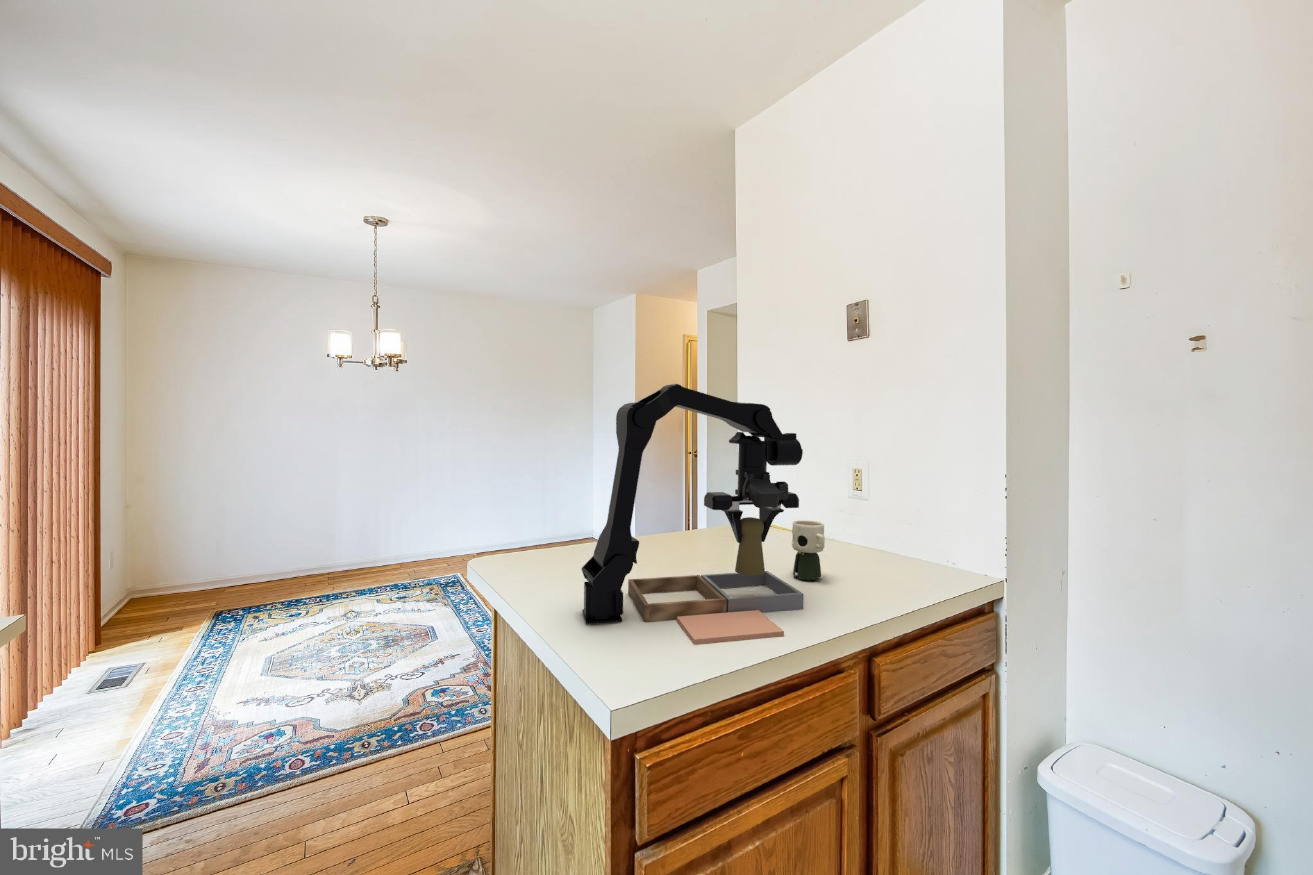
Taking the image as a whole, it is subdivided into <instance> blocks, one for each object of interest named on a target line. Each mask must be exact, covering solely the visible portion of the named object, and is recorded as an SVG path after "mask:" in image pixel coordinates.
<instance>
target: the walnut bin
mask: <svg viewBox="0 0 1313 875" xmlns="http://www.w3.org/2000/svg"><path fill="white" fill-rule="evenodd" d="M627 581H628V582H627V583H628V584H627V585H628V587H627V588H628V589H627V590H628V591H627V594H628V597H630V599H631V601H632V603H633V604H635V605H634V606H635V608H636V610H637V611H638V613H639V615H640V617H641V619H642V621H643V622H644V623H650V622H651V623H652V622H662V621H663V622H664V621H672V620H673V621H674V620H675V621H677V617H679V616H691V615H703V614H716V613H726V599H725V598H724V597H723V596H722V595H721V594H720V593H719V592H718V591H717V590H715V589H714V588H713V587H712V586H711V585H710V584H709V583H708V582H707V581H705V580H704V579H703V578H702V577H701V574H696V575H695V574H692V575H691V574H690V575H679V576H678V575H677V576H663V577H661V576H660V577H659V576H658V577H647V578H646V577H643V578H628V580H627ZM691 590H692V591H697V592H698V593H699V594H700V596H702V597H703V598H704V599H697V600H696V599H695V600H682V601H667V602H655V603H654V602H653V603H649V602H648V601H647V600H646V598H645V596H644V595H645V594H646V595H647V594H659V593H661V594H662V593H673V592H678V593H679V592H689V591H691ZM692 591H691V592H692Z"/></svg>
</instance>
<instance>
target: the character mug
mask: <svg viewBox="0 0 1313 875" xmlns="http://www.w3.org/2000/svg"><path fill="white" fill-rule="evenodd" d="M791 533H792V540H791V546H792V549H793V550H794V551H796V554H795V558H794V563H793V571H792V574H793V577H796V578H797V579H800V580H809V581H813V580H816V579H819V578H821V577H822V569H821V568H822V567H821V562H820V561H821V560H820V555H819V553H821V552H824V549H825V540H826V539H825V524H824V523H823V522H821V521H817V520H816V521H815V520H803V519H801V520H800V519H798V520H793V521H792V529H791ZM796 574H797V576H796Z"/></svg>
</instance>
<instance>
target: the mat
mask: <svg viewBox="0 0 1313 875" xmlns="http://www.w3.org/2000/svg"><path fill="white" fill-rule="evenodd" d="M676 622H677V624H678V625H679V626H680V627H681V629H682V630H683V632H684V633H685V634H686V635H687V637H688V638H689V640H690V641H691V642H692V643H693V645H702V644H703V645H704V644H713V643H724V642H733V641H744V640H745V641H746V640H755V639H766V638H776V637H784V636H785V631H784V630H783V629H782V628H781V627H780V626H779V625H777V624H776V623H775V622H774V621H772V620H771V619H770V618H769V617H767V615H765V614H764V612H760V611H759V610H753V611H740V612H728V613H716V614H703V615H691V616H679V617H677V619H676Z"/></svg>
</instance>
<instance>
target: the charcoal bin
mask: <svg viewBox="0 0 1313 875" xmlns="http://www.w3.org/2000/svg"><path fill="white" fill-rule="evenodd" d="M700 576H701V577H702V578H703V579H704V580H705V581H707V582H708V583H709V584H710V585H711V586H712V587H713V588H714V589H715V590H717V591H718V592H719V593H720V594H721V595H722V596H723V597H724V598H725V599H726V613H728V612H740V611H753V610H759V611H760V612H761V613H771V612H772V613H773V612H783V611H784V612H785V611H794V610H804V601H805V600H804V597H805V596H804V595H805V594H804V593H803V592H802V591H800V590H799V589H797V588H796V587H794V586H793V585H791V584H789V583H787V582H786V581H784V580H782V579H781V578H780V577H778V576H776V575H775V574H773V573H772V572H770V571H768V570H765V573H764V574H763V575H759V576H748V575H742V574H739V573H737V572H729V573H728V572H727V573H711V574H710V573H709V574H700ZM763 586H765V587H767V588H768V589H770V590H771V591H772V592H774V593H775V594H763V595H762V594H760V595H750V596H749V595H748V596H736V597H735V596H734V597H731V596H730V595H729V594H727V593H726V592H725V591H724V590H723V589H732V588H733V589H735V588H747V587H748V588H749V587H763Z"/></svg>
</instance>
